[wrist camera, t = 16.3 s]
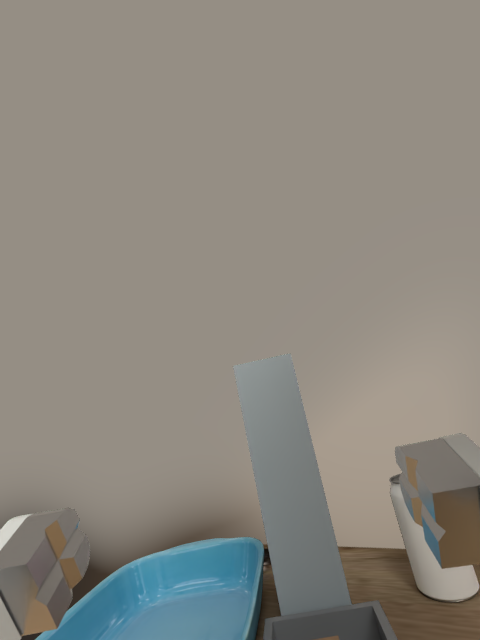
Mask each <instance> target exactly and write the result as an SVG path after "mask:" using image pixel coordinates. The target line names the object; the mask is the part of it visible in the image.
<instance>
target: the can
mask: <svg viewBox="0 0 480 640" xmlns="http://www.w3.org/2000/svg"><path fill="white" fill-rule="evenodd" d="M400 475H401V474H398V475H396V476H393V477H391V478H390V480H389V481H390V482H391V488H390V496H391V499H392V503H393V506H394V510H395V513H396V517H397V520H398V524H399V527H400V530H401V534H402V537H403V541H404V544H405V548H406V551H407V554H408V558H409V561H410V565H411V568H412V571H413V575H414V578H415V581H416V584H417V587H418V589H419V590H420V591H421V592H422V593H423V594H424V595H426V596H427V597H429V598H431V599H433V600H437V601H441V602H449V603H455V602H463V601H467V600H469V599H471V598H473V597H474V596H475V595H476V594H477V592H478V589H479V583H478V580H477V577H476V574H475V571H474V568H473V565H469V566H461V567H453V568H445V569H442V568H441V566H440V565H439V563H438V561H437V560H436V558H435V556H434V555H433V553H432V551H431V549H430V548H429V546H428V544H427V543H426V541H425V537H424V531H423V527H422V526H420V525H418V524H417V523H415V522H414V520H413V518H412V517H411V515H410V513H409V511H408V509H407V506H406V504H405V502H404V498H403V495H402V492H401V488H400V482H399V477H400Z"/></svg>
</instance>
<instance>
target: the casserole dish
mask: <svg viewBox="0 0 480 640" xmlns="http://www.w3.org/2000/svg"><path fill="white" fill-rule="evenodd" d="M263 563H264V547H263V544H262V543H261V541H260V540H258V539H256V538H251V537H239V538H229V539H224V538H216V539H209V540H203V541H197V542H193V543H188V544H184V545H180V546H176V547H173V548H171V549H168V550H165V551H161V552H158V553H154V554H151V555H148V556H145V557H142V558H139V559H137V560H135V561H133V562H131V563H129V564H127V565H125V566H123V567H121V568H120V569H118V570H117V571H115V572H114V573H112V574H111V575H110V576H109V577H107V578H106V579H105V580H103V581H102V582H101V583H99V584H98V585H97V586H96V587H95V588H94V589H93V590H91V591H90V592H89V593H88V594H87V595H85V596H84V597H83V598H82V599H81V600H80V601H79V602H77V603H76V604H75V605H74V606H73V607H72V608H70V609H69V610H68V611H67V612H66V613H65V615H64V617H63V619H62V621H61V623H60V625H59V627H58V629H54V630H49V631H44V632H43V633H42V634H41V635H40V636H39V637H37V638H36V639H35V640H255V639H256V633H257V627H258V621H259V614H260V607H261V598H262V586H263Z"/></svg>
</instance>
